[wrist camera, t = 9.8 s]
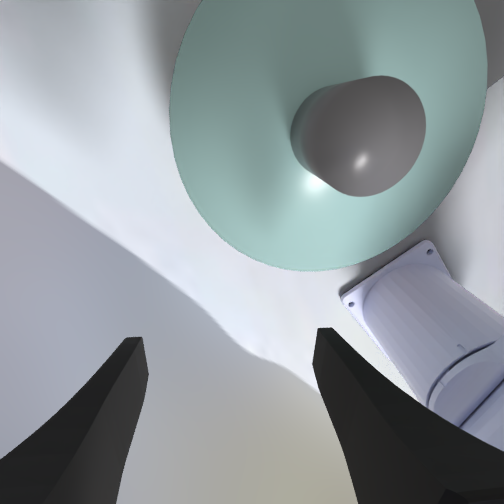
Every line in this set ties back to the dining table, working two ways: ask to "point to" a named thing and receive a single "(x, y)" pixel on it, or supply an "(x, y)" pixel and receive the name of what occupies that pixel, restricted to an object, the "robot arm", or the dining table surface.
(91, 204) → the dining table surface
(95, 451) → the robot arm
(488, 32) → the mat
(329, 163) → the lid
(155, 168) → the dining table surface
